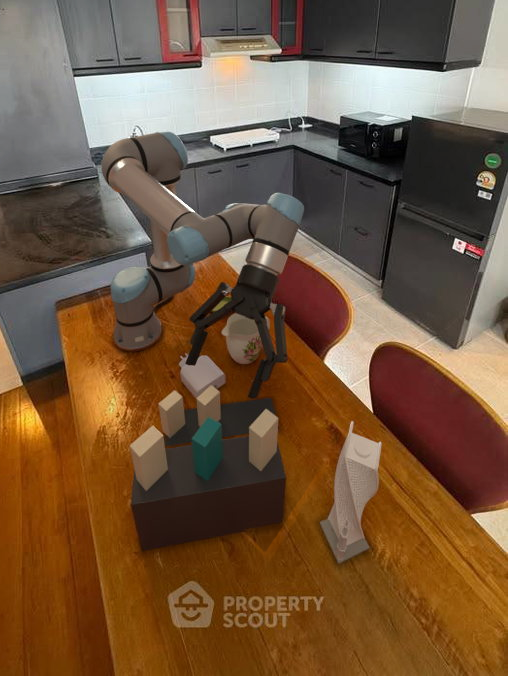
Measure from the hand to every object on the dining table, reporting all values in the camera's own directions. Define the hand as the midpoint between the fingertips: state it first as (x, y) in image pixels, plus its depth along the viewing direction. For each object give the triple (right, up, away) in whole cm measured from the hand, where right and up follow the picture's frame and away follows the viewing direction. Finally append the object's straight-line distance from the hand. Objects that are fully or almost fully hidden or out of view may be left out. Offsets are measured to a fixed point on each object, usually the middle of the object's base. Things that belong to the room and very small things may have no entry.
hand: (219, 380), depth 68 cm
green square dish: (-4, -5, +69) cm, 69 cm away
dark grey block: (-1, -24, +29) cm, 37 cm away
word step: (-2, -32, +11) cm, 34 cm away
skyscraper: (+25, -34, +8) cm, 43 cm away
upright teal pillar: (-2, -18, +4) cm, 18 cm away
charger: (-9, -18, +42) cm, 46 cm away
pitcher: (+5, -14, +49) cm, 51 cm away
